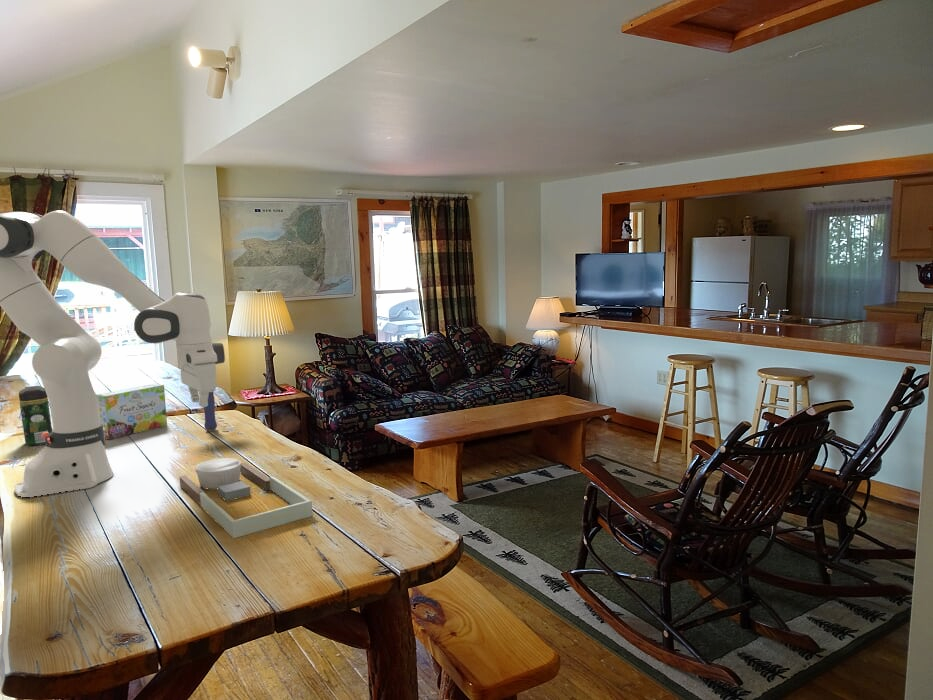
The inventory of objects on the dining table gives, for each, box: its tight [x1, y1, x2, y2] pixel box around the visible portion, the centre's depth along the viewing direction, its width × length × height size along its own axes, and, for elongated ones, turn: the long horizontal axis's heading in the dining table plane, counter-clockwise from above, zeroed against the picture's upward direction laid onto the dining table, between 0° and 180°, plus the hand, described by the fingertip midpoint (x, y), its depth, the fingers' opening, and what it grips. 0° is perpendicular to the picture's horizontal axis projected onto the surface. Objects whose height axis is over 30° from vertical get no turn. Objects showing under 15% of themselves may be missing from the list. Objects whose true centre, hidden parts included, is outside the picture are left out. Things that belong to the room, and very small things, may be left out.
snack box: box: [97, 383, 168, 440], centre depth 226 cm, size 21×6×15 cm, turn 148°
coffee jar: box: [18, 385, 53, 446], centre depth 216 cm, size 10×8×19 cm
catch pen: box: [200, 475, 313, 539], centre depth 151 cm, size 18×23×4 cm
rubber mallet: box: [203, 342, 226, 432], centre depth 223 cm, size 12×8×30 cm, turn 117°
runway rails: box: [179, 462, 271, 505], centre depth 168 cm, size 17×19×2 cm
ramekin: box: [194, 457, 242, 490], centre depth 171 cm, size 11×11×5 cm
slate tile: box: [217, 480, 252, 502], centre depth 163 cm, size 6×6×2 cm
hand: (199, 404), depth 178 cm, fingers open, 6 cm apart
